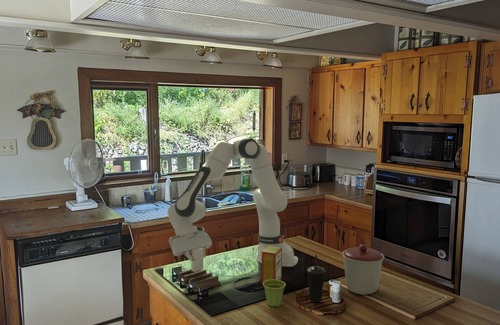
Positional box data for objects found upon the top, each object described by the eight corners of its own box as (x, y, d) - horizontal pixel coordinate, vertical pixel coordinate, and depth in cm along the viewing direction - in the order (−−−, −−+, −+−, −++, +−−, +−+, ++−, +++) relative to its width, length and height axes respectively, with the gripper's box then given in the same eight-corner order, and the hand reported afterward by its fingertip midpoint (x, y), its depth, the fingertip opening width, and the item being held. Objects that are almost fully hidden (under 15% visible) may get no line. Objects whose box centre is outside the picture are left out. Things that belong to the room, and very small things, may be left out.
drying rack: (176, 282, 195) (176, 273, 194) (200, 274, 204) (200, 266, 204) (195, 293, 183) (195, 283, 183) (220, 284, 192) (220, 275, 192)
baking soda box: (274, 286, 190) (275, 252, 188) (261, 284, 193) (261, 250, 191) (281, 279, 199) (281, 246, 197) (268, 276, 202) (268, 245, 200)
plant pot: (271, 296, 180) (271, 277, 179) (289, 302, 174) (289, 283, 173) (258, 304, 172) (258, 284, 171) (276, 311, 166) (276, 290, 165)
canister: (354, 301, 175) (355, 253, 172) (334, 284, 192) (335, 240, 190) (391, 296, 180) (393, 249, 177) (368, 280, 197) (370, 237, 195)
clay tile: (192, 270, 192) (191, 249, 191) (200, 268, 195) (200, 247, 194) (194, 272, 190) (194, 250, 189) (203, 269, 194) (203, 248, 193)
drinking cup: (323, 297, 179) (324, 252, 177) (325, 305, 171) (326, 258, 169) (306, 296, 180) (306, 251, 177) (306, 304, 172) (307, 257, 170)
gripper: (169, 234, 189) (181, 260, 183) (206, 226, 203) (218, 250, 197) (164, 241, 193) (176, 267, 187) (201, 233, 206) (213, 257, 200)
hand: (198, 258), depth 192 cm, fingers closed on clay tile, 5 cm apart
